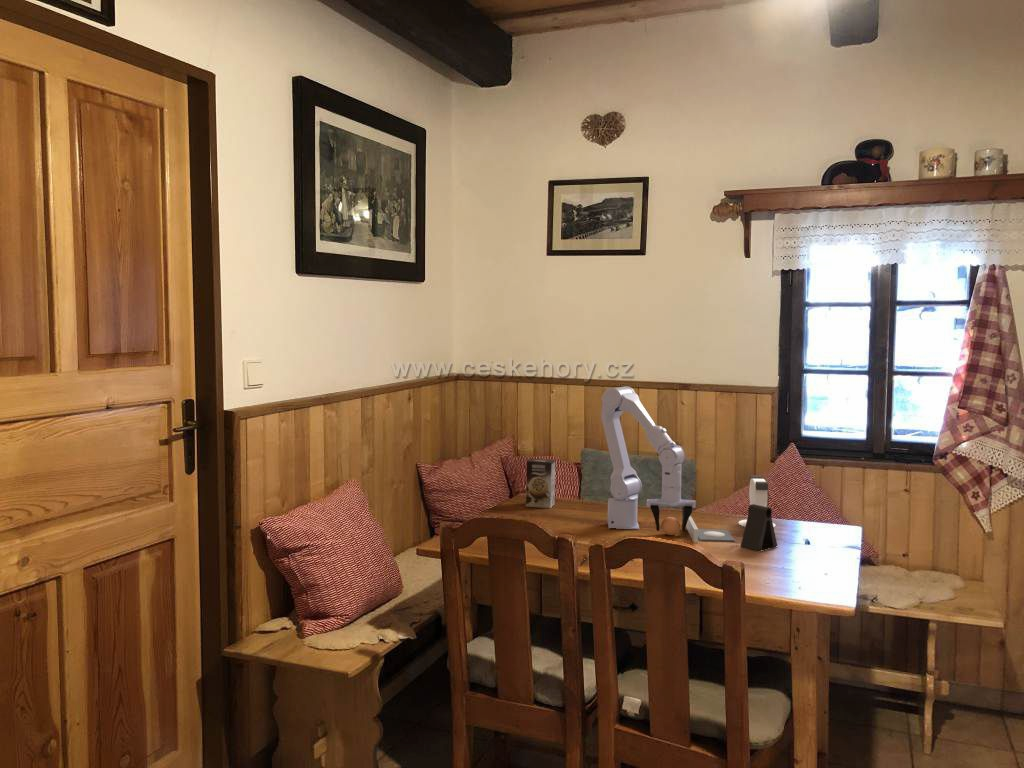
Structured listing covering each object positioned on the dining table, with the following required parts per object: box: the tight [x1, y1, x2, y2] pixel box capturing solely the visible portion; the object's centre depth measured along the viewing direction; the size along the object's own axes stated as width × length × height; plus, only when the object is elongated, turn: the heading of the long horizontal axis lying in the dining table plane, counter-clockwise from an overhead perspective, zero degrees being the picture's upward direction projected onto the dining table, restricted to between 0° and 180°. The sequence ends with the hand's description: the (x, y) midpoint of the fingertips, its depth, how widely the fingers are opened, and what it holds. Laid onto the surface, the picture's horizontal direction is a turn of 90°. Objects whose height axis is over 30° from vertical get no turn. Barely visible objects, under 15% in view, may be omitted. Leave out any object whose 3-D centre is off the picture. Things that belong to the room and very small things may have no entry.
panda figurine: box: [738, 475, 777, 528], centre depth 265 cm, size 12×11×15 cm
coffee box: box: [525, 457, 556, 509], centre depth 290 cm, size 9×6×16 cm
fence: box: [686, 515, 699, 544], centre depth 253 cm, size 1×16×4 cm, turn 176°
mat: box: [698, 528, 735, 543], centre depth 252 cm, size 10×12×1 cm
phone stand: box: [740, 504, 778, 553], centre depth 240 cm, size 9×6×12 cm, turn 125°
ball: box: [660, 516, 681, 536], centre depth 253 cm, size 6×6×6 cm
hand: (670, 530), depth 253 cm, fingers open, 7 cm apart
